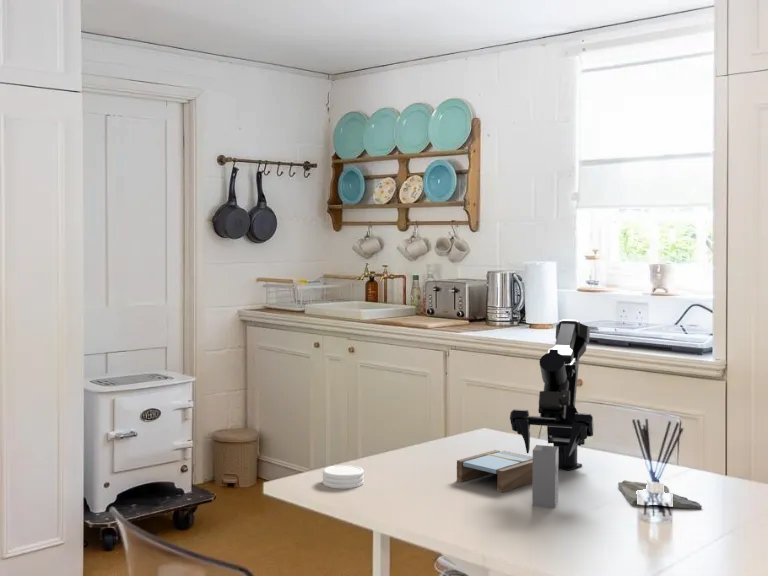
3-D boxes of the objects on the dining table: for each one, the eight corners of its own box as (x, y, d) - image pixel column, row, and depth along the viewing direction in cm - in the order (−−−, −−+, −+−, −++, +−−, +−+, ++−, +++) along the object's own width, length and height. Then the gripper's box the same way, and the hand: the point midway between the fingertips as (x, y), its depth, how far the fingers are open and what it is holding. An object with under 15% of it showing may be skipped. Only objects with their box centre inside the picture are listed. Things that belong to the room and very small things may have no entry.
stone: (535, 499, 204) (536, 444, 204) (557, 501, 203) (558, 446, 202) (532, 505, 200) (532, 450, 199) (554, 507, 198) (555, 451, 197)
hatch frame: (544, 478, 221) (544, 458, 221) (502, 492, 210) (502, 471, 210) (498, 468, 231) (499, 448, 231) (456, 480, 220) (456, 460, 219)
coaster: (335, 492, 211) (335, 477, 211) (315, 482, 219) (315, 468, 219) (371, 485, 216) (371, 471, 216) (350, 476, 225) (350, 462, 225)
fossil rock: (615, 488, 215) (615, 478, 215) (678, 489, 215) (678, 479, 214) (633, 510, 198) (633, 500, 197) (702, 511, 197) (702, 500, 197)
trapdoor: (536, 469, 222) (536, 456, 222) (495, 482, 211) (495, 468, 211) (503, 462, 229) (504, 449, 229) (463, 474, 218) (463, 461, 218)
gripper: (511, 375, 211) (502, 431, 201) (593, 379, 205) (587, 437, 195) (517, 402, 219) (508, 458, 209) (595, 407, 213) (590, 464, 203)
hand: (547, 453), depth 204 cm, fingers open, 9 cm apart
